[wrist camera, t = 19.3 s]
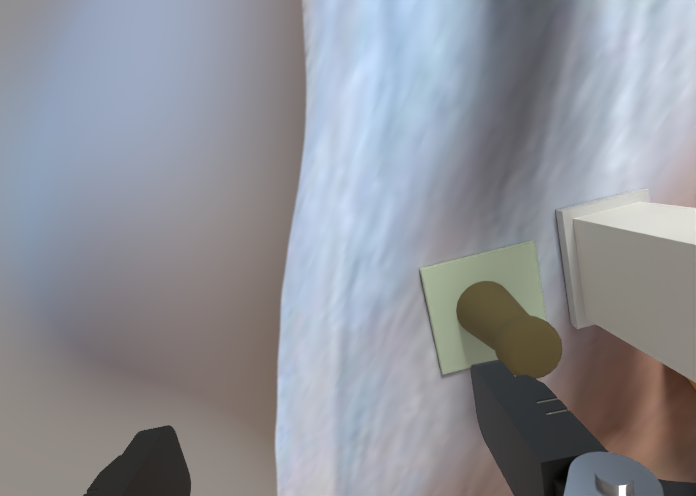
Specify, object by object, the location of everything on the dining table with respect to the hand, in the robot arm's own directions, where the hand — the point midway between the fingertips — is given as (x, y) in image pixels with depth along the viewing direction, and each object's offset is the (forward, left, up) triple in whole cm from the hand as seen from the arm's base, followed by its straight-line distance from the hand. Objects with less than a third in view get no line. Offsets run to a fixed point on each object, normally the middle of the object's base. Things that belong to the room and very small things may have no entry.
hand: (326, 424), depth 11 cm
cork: (+12, +14, -30) cm, 36 cm away
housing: (+10, +28, -31) cm, 43 cm away
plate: (+12, +15, -31) cm, 36 cm away
